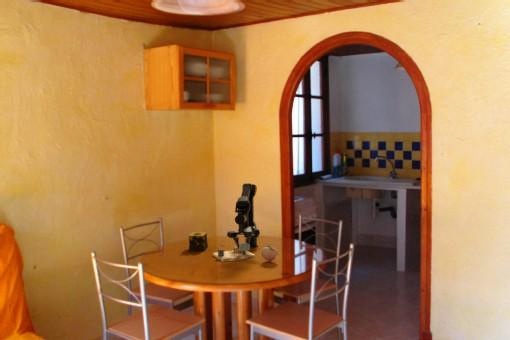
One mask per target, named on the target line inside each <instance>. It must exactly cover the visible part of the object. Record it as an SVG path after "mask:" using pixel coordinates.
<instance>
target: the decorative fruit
mask: <svg viewBox="0 0 510 340" xmlns="http://www.w3.org/2000/svg"><path fill="white" fill-rule="evenodd" d="M278 255H279V253H278V249H277V248H275V246H271V245H270V244H266V245H265V247H263V248H262V249H261V257H262V258H263V259H264V260H266V261H268V262H270V263H271V262H272V261H275V259H277V256H278Z"/></svg>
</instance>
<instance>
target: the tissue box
mask: <svg viewBox="0 0 510 340" xmlns="http://www.w3.org/2000/svg"><path fill="white" fill-rule="evenodd" d="M207 238H208V232H207V231H200V232H199V231H196V232H195V231H193V232H190V233H189V235H188V250H189V252H205V251H206V250H207V249H208V247H209V242H208V239H207Z"/></svg>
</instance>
